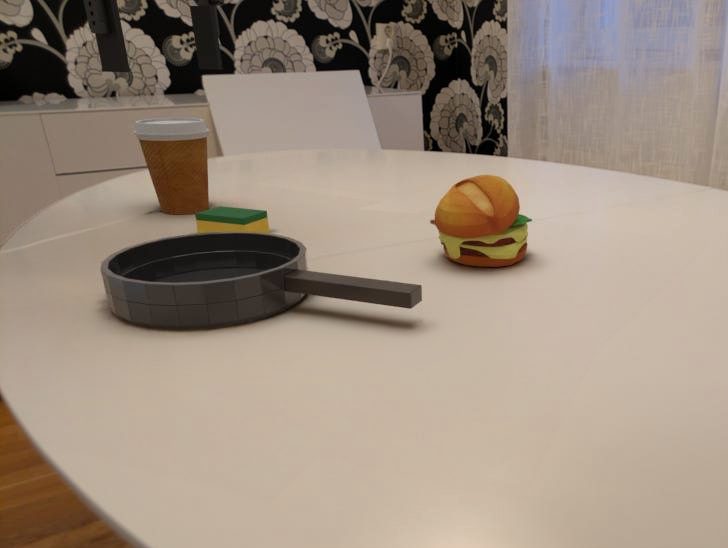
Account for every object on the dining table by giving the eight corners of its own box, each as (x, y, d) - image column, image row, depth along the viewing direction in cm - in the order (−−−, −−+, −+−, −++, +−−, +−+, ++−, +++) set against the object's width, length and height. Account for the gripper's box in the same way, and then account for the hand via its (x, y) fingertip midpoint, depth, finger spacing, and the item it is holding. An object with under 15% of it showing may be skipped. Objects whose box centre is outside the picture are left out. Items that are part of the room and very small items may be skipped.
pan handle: (284, 291, 58) (282, 276, 57) (299, 284, 60) (297, 269, 59) (411, 309, 54) (410, 292, 54) (422, 300, 56) (422, 284, 56)
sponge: (198, 237, 82) (194, 213, 80) (223, 229, 85) (219, 206, 84) (246, 243, 79) (243, 218, 78) (269, 234, 83) (266, 210, 82)
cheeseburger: (548, 251, 77) (544, 167, 71) (504, 298, 70) (496, 209, 64) (472, 238, 81) (463, 158, 75) (424, 280, 74) (409, 196, 68)
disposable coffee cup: (191, 200, 102) (177, 116, 97) (235, 207, 97) (222, 120, 92) (134, 211, 94) (115, 121, 89) (178, 220, 90) (161, 125, 85)
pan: (64, 315, 57) (52, 270, 56) (203, 262, 72) (197, 225, 71) (230, 343, 52) (223, 295, 51) (343, 280, 67) (340, 241, 65)
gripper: (34, -229, 51) (98, 73, 60) (244, -145, 73) (268, 69, 81) (-35, -218, 53) (36, 72, 62) (188, -140, 75) (217, 68, 84)
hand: (167, 71), depth 72 cm, fingers open, 13 cm apart
